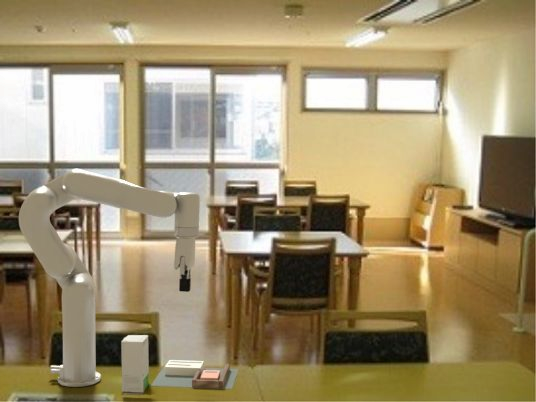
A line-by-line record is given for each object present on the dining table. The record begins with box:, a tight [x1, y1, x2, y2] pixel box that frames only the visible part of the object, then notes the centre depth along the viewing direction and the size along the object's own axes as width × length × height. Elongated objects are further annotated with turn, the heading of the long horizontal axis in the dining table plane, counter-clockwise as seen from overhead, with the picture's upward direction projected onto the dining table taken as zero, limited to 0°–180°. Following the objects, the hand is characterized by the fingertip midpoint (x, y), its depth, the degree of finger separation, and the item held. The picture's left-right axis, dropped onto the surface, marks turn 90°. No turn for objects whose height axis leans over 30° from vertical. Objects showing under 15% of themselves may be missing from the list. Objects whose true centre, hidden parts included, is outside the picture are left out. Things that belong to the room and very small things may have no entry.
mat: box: [150, 365, 240, 390], centre depth 212 cm, size 24×18×1 cm
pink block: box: [201, 370, 220, 380], centre depth 208 cm, size 5×7×3 cm
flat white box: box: [165, 359, 205, 376], centre depth 217 cm, size 11×7×3 cm, turn 86°
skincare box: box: [120, 334, 150, 396], centre depth 202 cm, size 8×7×16 cm
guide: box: [191, 363, 231, 389], centre depth 211 cm, size 9×17×2 cm, turn 176°
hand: (184, 290), depth 216 cm, fingers closed
